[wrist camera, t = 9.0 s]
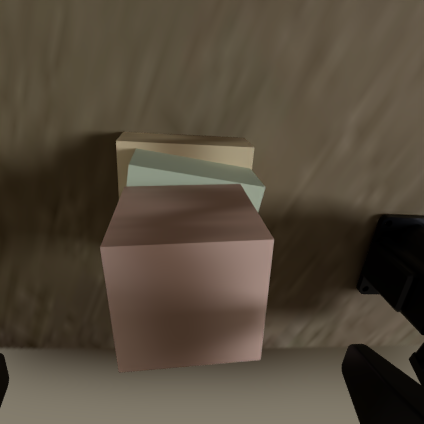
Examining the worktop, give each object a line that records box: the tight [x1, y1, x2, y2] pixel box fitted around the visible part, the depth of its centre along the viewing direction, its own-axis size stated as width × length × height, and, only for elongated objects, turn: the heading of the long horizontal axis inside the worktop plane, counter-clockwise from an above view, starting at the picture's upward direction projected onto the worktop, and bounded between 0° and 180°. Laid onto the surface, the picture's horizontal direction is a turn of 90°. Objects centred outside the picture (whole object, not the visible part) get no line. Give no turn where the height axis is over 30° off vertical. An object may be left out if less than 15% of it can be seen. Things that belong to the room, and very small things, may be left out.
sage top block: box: [126, 148, 265, 212], centre depth 16 cm, size 6×6×3 cm
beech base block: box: [116, 132, 255, 199], centre depth 19 cm, size 7×7×3 cm
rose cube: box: [100, 184, 274, 373], centre depth 12 cm, size 5×5×5 cm
